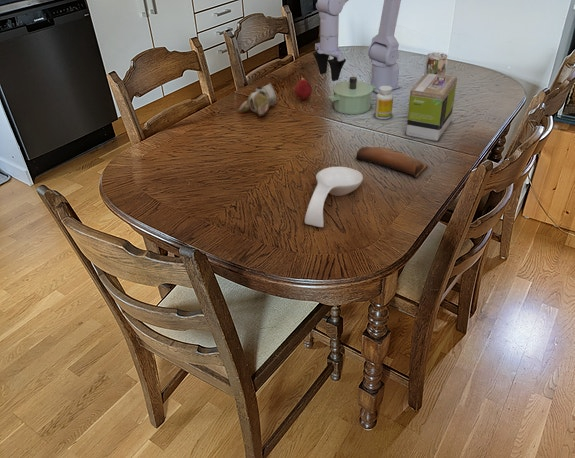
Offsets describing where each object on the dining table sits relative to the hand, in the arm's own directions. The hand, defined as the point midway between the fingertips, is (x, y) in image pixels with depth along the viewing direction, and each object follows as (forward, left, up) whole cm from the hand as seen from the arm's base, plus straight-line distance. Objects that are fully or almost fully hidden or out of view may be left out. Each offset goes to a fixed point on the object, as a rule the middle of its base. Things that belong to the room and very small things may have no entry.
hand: (329, 76), depth 165 cm
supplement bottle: (-10, +17, -10) cm, 22 cm away
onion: (+5, -9, -10) cm, 14 cm away
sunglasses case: (+7, +43, -10) cm, 45 cm away
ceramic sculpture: (+22, -9, -10) cm, 26 cm away
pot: (-6, +5, -10) cm, 13 cm away
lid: (-6, +5, -4) cm, 9 cm away
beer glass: (-32, +15, -10) cm, 37 cm away
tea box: (-16, +32, -10) cm, 37 cm away
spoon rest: (+31, +50, -10) cm, 60 cm away
